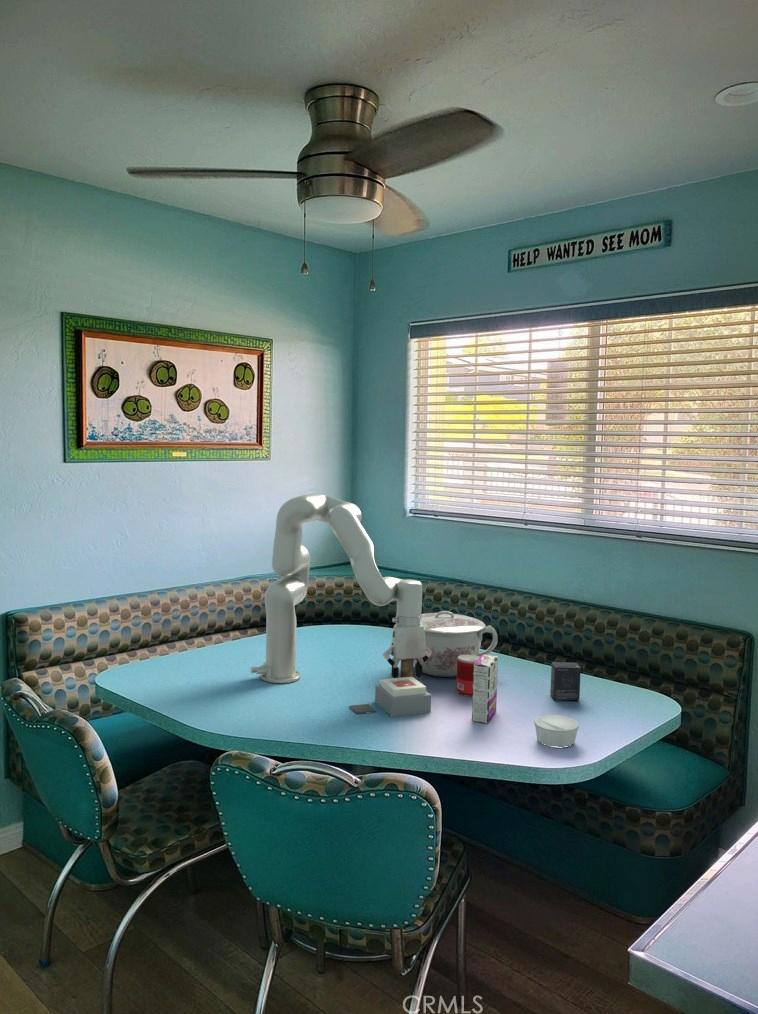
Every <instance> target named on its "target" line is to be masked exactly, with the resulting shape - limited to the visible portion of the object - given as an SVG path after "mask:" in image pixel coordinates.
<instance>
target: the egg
mask: <svg viewBox="0 0 758 1014" xmlns="http://www.w3.org/2000/svg"><path fill="white" fill-rule="evenodd" d="M395 685H396V686H397V687H404V686H411V683H410V682H406V681H398V682H395Z"/></svg>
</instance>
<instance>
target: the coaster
mask: <svg viewBox="0 0 758 1014" xmlns="http://www.w3.org/2000/svg"><path fill="white" fill-rule="evenodd" d="M348 707H350V708H351V709H352V712H353V713H355V715H359V714H360V713H362V714H368V713H367V712H371V713H376V712H377V710H376V709H375V708H374V707H373V706H372V705H371V704H369V703H364V704H361V703H360V704H353V705H349V706H348ZM360 715H361V714H360Z"/></svg>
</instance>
